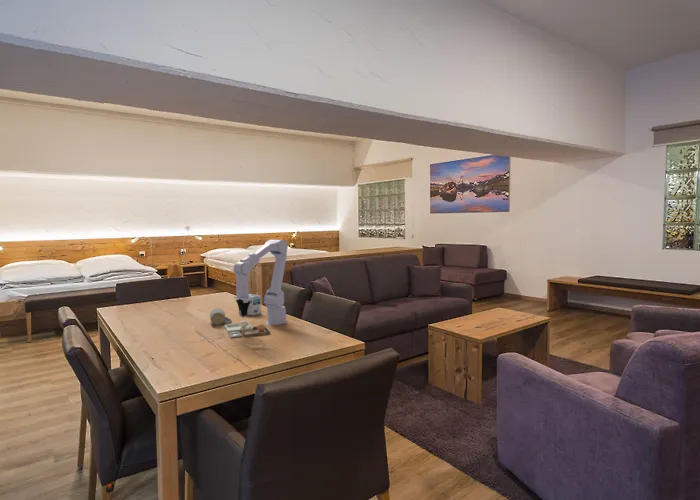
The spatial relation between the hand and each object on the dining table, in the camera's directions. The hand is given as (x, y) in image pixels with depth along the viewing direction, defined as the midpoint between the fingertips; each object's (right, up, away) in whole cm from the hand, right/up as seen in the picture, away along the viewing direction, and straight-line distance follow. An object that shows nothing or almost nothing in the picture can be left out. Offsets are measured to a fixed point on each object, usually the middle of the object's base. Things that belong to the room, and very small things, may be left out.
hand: (243, 314), depth 199 cm
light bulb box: (-6, -6, +40) cm, 41 cm away
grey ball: (0, -1, 0) cm, 1 cm away
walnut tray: (+6, -9, 0) cm, 11 cm away
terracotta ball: (+8, -8, +1) cm, 12 cm away
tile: (-3, -9, -5) cm, 11 cm away
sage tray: (-4, -8, +6) cm, 11 cm away
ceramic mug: (-17, -8, +18) cm, 26 cm away
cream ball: (-2, -8, +7) cm, 11 cm away
